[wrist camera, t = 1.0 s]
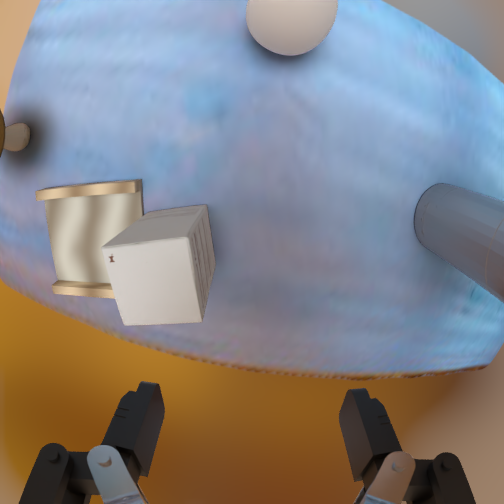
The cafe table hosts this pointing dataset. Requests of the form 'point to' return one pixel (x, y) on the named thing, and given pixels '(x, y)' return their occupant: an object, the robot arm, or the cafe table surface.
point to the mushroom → (13, 136)
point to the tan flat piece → (88, 231)
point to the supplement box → (162, 267)
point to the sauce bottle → (290, 23)
